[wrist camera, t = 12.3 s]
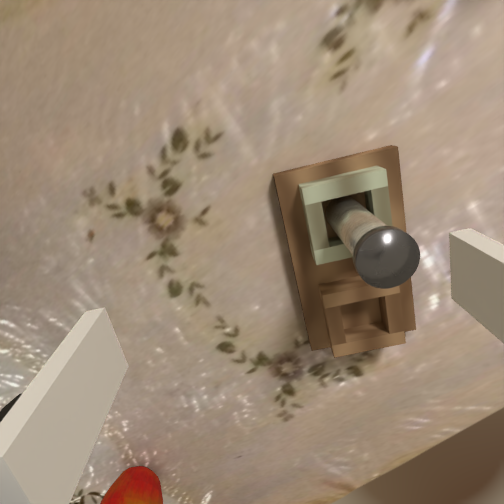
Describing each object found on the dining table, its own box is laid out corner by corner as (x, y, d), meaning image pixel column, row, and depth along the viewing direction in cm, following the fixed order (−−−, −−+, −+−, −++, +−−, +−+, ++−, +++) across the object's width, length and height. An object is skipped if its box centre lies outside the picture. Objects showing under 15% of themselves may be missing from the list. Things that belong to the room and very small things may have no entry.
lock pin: (325, 237, 45) (361, 294, 31) (318, 197, 43) (352, 238, 29) (366, 227, 45) (422, 281, 30) (360, 187, 43) (417, 223, 29)
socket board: (309, 342, 53) (315, 364, 48) (272, 173, 44) (276, 180, 40) (409, 321, 52) (426, 342, 47) (391, 145, 43) (408, 149, 39)
